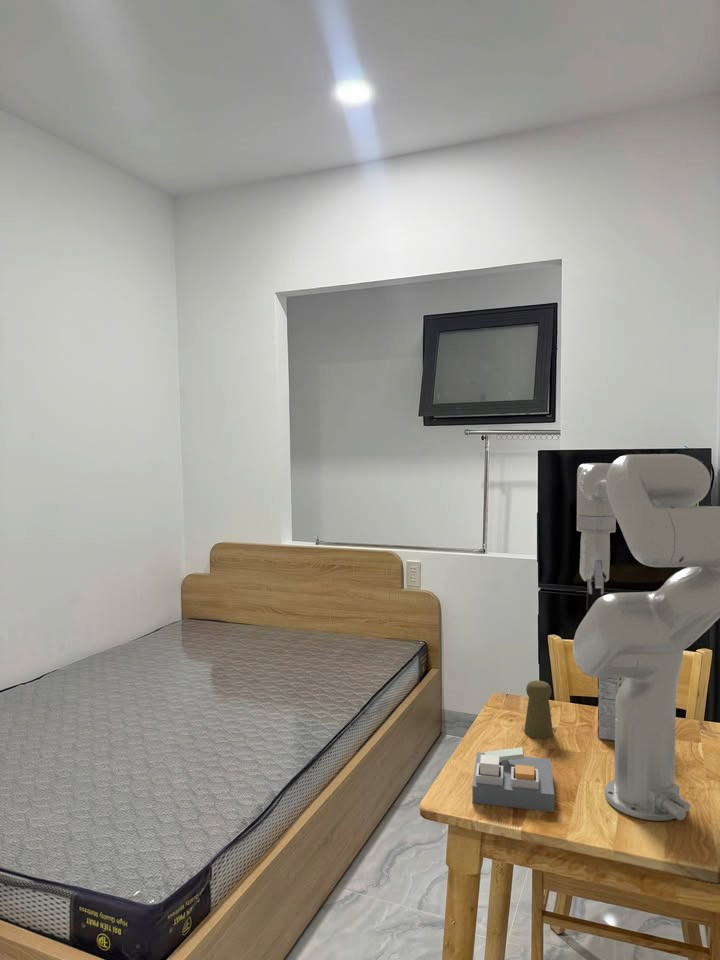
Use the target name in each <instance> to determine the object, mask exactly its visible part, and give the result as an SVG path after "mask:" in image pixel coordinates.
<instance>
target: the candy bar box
mask: <svg viewBox="0 0 720 960" xmlns="http://www.w3.org/2000/svg"><path fill="white" fill-rule="evenodd" d="M624 680H625V678H597V738H598V739H599V740H603V741H610V742H611V741H612V742H615V702H616V696H617V693H618V690H619V688H620V686H621V684H622V683H623V681H624Z"/></svg>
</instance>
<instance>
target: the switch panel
mask: <svg viewBox="0 0 720 960" xmlns="http://www.w3.org/2000/svg"><path fill="white" fill-rule="evenodd" d="M481 755H485V752H476V756H475V764H474V772H473V779H472V787H471V788H472V795H471V796H472V804H480V805H488V806H497V807H504V808H505V807H506V808H516V809H524V810H534V811H543V812H550V813H551V812H553V813H555V788H554V777H553V770H552V769H553V768H552V761H551V758H542V757H541V758H540V757H532V756H524V759H515V760H505V761H499V776H494V775H484V774H480V759H481ZM515 765H525V766H534V780H525V779H515Z"/></svg>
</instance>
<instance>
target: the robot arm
mask: <svg viewBox="0 0 720 960" xmlns="http://www.w3.org/2000/svg"><path fill="white" fill-rule="evenodd" d="M576 471H577V473H576V531H577V532H581V533H580V535H581V536H580V547H579V548H580V553H579V555H580V556H579V557H580V558H579V575H580V577H581V579H582V580H583V581H584V582H587V592H586V611H587V612H586V614H585V616H584V617H583V619H582V620H581V622H579V625H578V627H577V629H576V631H575V634H574V638H573V641H572V655H573V659H574V661H575V662H574V663H575V664H576V666H577V667H578V669H579V670H580V672H582V673H583V674H584V675H586V676H588V677H591V678H595V679H598V678H625V680H624V681H623V683H622V684H621V686H620V688H619V690H618V693H617V696H616V702H615V741H614V779H613V780H611V781H609V782H608V783H606V785H605V787H604V797H605V799H606V801H607V802H608V803H609V804H610V805H611V806H612V807H613V808H614V809H616V810H618V811H619V812H621V813H623V814H626V815H628V816H629V817H633V818H637V819H640V820H645V821H653V822H654V821H656V822H661V821H662V822H663V821H671V820H674V819H677V820H678V821H683V820H684V819H685V817H686V816H687V812H689V811H690V810H691V804H690V803H689V802H688V801H686V800H685V799H683V797H682V795H680V786H679V785H677V784H676V783H675V773H676V771H675V769H676V768H675V767H676V766H675V765H676V764H675V761H676V757H675V756H676V749H675V748H676V715H677V712H676V711H677V705H676V704H677V692H678V683H679V678H680V672H681V669H682V668H681V667H682V665H683V659H684V650H687V648H689V647H690V646H691V645H693V644H694V643H695V642H697V640H698V639H699V638H700V637H701V636H702V635H703V634H704V633H706V632H707V631H708V630H709V629H710V628H711V627H712V626H713V625H714V623H716V622H717V621H718V620H719V619H720V505H719V506H717V505H716V506H715V505H714V506H713V505H699V506H698V505H696V504H699V502H701V501H703V499H704V498H705V497H706V496H707V494H708V493H709V490H710V489H711V482H712V481H711V480H712V479H711V475H710V471H709V470H708V468H707V467H706V466H705V465H704V463H703V462H701V461H700V460H699V459H697V458H695V457H692V456H690V455H687V454H681V453H679V454H678V453H659V454H658V453H650V454H649V453H648V454H647V453H645V454H643V453H639V454H638V453H637V454H625V455H621V456H619V457H618V458H616V459H615V460H614V461H613V462H612V463H611V462H610V463H605V462H604V463H603V462H589V463H581V464H580V465H579V466H578V468H577V470H576ZM616 523H618V525H619V528H620V530H621V532H622V535H623V538H624V540H625V542H626V545H627V547H628V549H629V551H630V553H631V554H632V556H633V557H634V559H635V560H637V561H638V562H639V563H640V564H642V565H644V566H648V567H652V568H681V567H682V568H683V569H681V570H679V571H677V572H675V573H674V574H672V575H671V576H670V577H669V578H668V579H667V580H666V581H665V582H664V583H663V585H661V586H660V588H658V589H657V590H653V591H643V592H641V591H639V592H635V591H634V592H612V593H607V594H604V590H605V588H604V586H605V584H604V583H607V582H608V581H609V580H610V562H611V549H610V548H611V542H610V541H611V540H610V539H611V537H610V535H611V533H616V530H617V528H616V527H617V525H616Z"/></svg>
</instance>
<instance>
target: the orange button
mask: <svg viewBox="0 0 720 960" xmlns="http://www.w3.org/2000/svg"><path fill="white" fill-rule="evenodd" d="M515 779H525V780H534V766H525V765H515Z"/></svg>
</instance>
